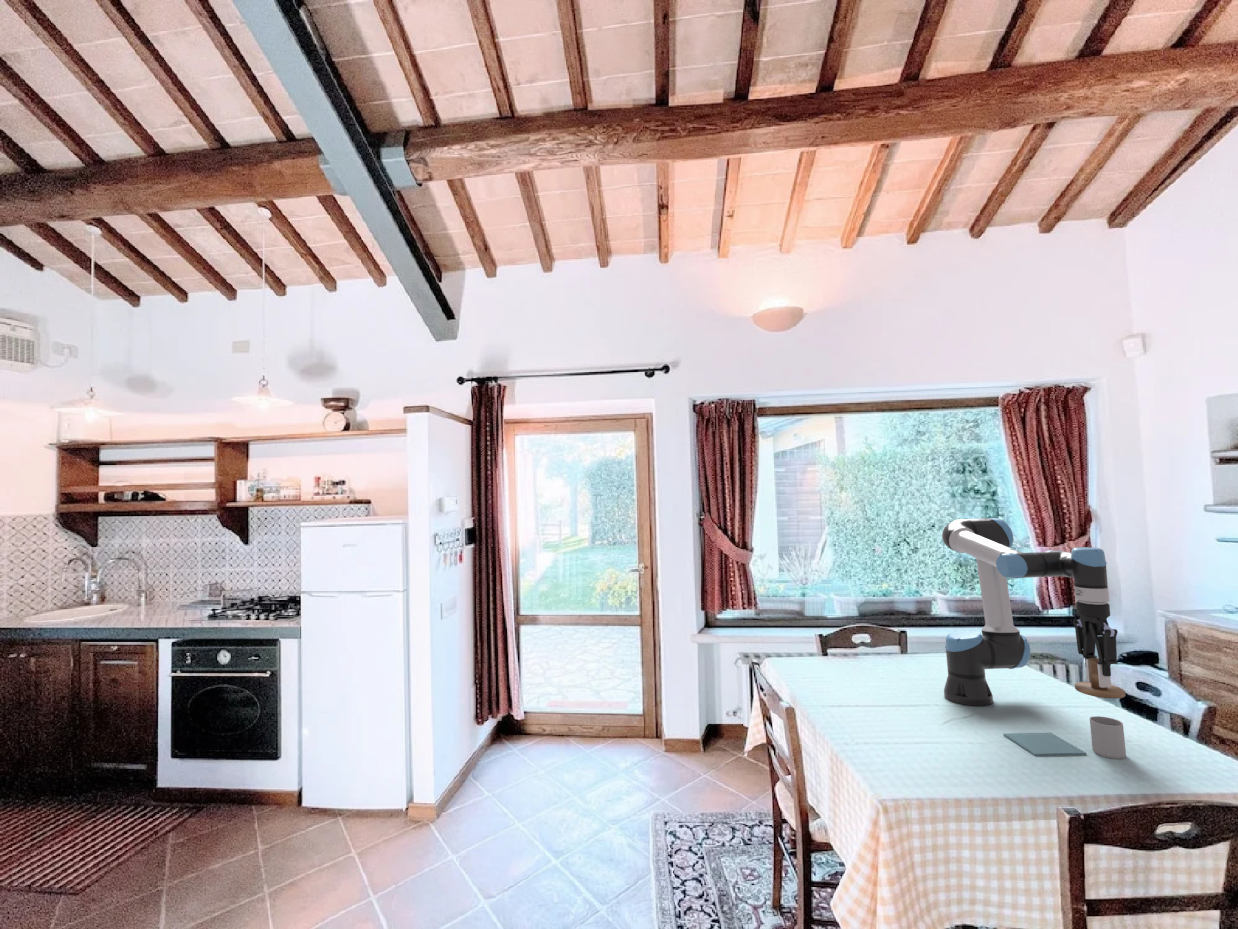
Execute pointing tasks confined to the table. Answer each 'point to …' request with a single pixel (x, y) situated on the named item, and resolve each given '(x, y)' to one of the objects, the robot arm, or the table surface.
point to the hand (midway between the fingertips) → (1099, 684)
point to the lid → (1094, 687)
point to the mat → (1044, 744)
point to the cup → (1107, 737)
